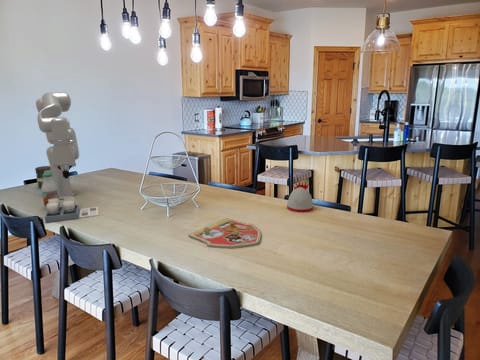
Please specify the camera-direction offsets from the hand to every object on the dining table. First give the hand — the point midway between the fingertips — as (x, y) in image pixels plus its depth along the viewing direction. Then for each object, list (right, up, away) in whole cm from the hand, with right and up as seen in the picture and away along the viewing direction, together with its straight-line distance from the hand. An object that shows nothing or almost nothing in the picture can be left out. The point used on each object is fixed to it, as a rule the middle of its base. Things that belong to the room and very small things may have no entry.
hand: (66, 178), depth 184 cm
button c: (-4, -18, -5) cm, 19 cm away
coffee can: (-41, -6, +56) cm, 70 cm away
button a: (-7, -16, +2) cm, 17 cm away
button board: (-2, -20, 0) cm, 20 cm away
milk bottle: (-14, -17, +13) cm, 26 cm away
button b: (0, -15, +4) cm, 16 cm away
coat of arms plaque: (+87, -26, -27) cm, 95 cm away
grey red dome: (+123, -16, +8) cm, 124 cm away
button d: (+3, -17, -2) cm, 17 cm away
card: (+10, -18, +5) cm, 21 cm away
